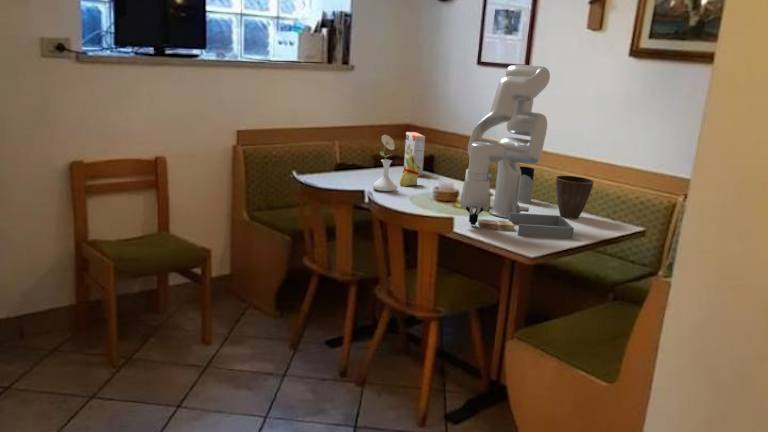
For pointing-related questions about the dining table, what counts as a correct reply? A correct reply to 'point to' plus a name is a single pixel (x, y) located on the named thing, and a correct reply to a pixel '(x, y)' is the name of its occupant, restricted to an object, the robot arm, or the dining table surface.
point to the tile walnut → (487, 224)
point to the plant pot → (572, 195)
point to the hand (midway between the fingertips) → (472, 224)
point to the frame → (554, 229)
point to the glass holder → (526, 185)
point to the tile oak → (504, 225)
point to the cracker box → (415, 148)
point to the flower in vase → (386, 168)
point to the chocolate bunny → (410, 172)
